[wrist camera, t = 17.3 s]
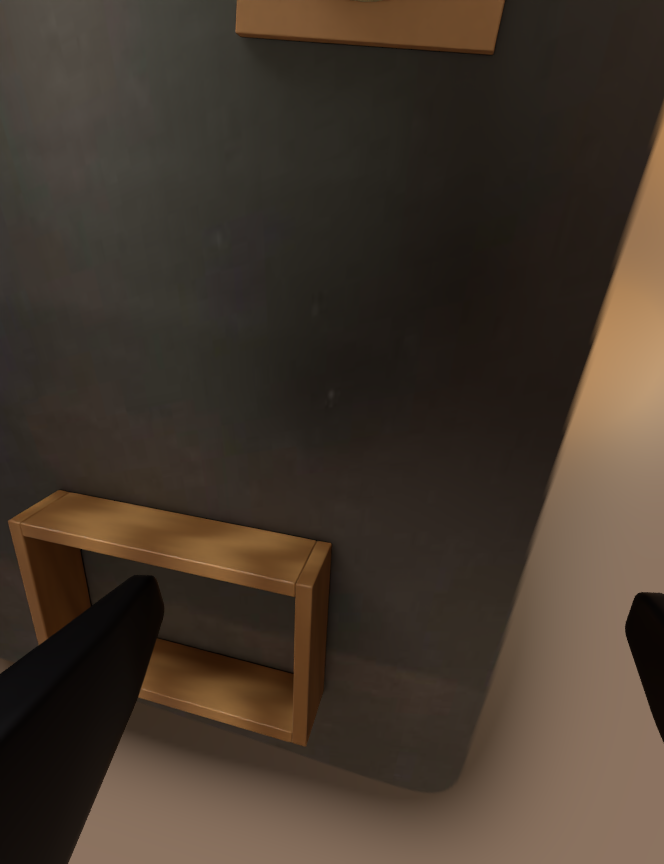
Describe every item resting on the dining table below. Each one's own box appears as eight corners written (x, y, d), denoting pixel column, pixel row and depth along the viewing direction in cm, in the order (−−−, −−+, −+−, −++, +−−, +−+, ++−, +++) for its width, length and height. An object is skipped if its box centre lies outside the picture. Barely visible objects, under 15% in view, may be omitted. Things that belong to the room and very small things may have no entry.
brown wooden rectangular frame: (332, 543, 24) (312, 587, 21) (323, 691, 28) (305, 747, 25) (58, 489, 28) (6, 520, 25) (85, 627, 32) (44, 669, 29)
